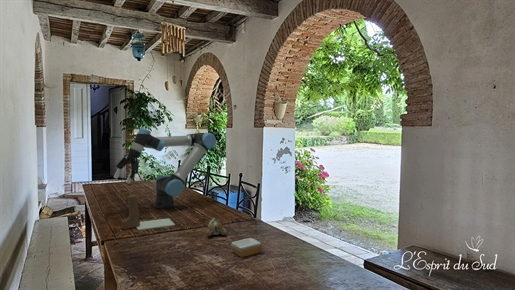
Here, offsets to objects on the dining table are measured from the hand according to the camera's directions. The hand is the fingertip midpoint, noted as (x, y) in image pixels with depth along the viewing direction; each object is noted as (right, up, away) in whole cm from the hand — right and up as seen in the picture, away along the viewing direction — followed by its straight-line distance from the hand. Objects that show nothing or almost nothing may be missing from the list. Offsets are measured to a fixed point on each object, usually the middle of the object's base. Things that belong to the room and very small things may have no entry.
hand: (121, 180), depth 208 cm
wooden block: (+14, -25, -19) cm, 34 cm away
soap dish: (+82, -28, -56) cm, 103 cm away
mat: (+25, -25, -13) cm, 38 cm away
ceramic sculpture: (+64, -27, -29) cm, 75 cm away
